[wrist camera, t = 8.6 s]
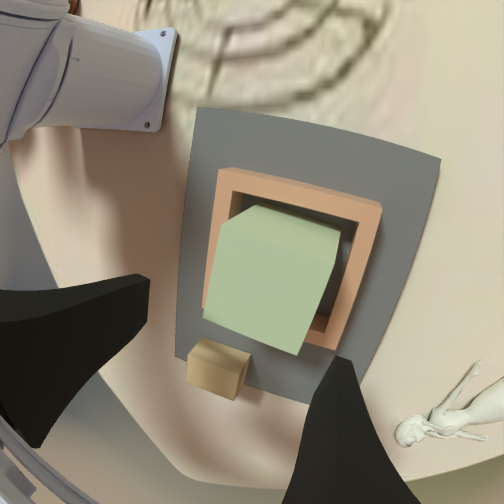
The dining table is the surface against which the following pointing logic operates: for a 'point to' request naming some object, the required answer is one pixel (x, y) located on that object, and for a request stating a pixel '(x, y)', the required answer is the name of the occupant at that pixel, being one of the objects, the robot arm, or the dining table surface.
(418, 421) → the woman figurine
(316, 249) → the sage green cube
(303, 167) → the housing
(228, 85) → the dining table surface
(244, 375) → the tan eraser block
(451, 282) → the dining table surface
